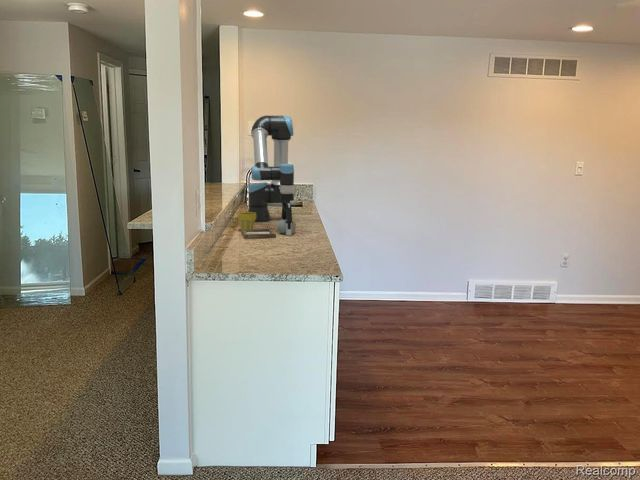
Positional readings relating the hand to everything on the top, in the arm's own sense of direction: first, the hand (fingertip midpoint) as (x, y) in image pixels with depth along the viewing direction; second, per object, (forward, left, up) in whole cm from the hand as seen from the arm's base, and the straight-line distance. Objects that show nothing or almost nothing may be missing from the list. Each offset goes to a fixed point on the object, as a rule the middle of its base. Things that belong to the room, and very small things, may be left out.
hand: (286, 233), depth 282 cm
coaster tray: (+4, -16, 0) cm, 16 cm away
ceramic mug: (-1, 0, -1) cm, 1 cm away
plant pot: (-13, -20, 0) cm, 24 cm away
